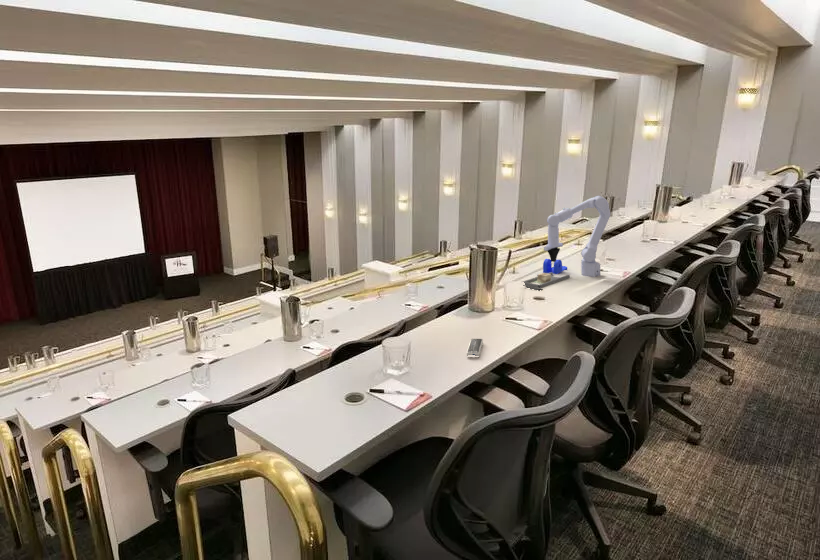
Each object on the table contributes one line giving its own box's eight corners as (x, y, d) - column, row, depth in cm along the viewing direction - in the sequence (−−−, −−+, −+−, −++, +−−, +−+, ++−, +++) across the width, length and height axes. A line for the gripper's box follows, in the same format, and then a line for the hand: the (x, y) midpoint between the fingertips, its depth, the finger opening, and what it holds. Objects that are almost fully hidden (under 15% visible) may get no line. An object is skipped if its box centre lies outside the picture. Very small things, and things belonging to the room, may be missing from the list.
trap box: (569, 280, 283) (569, 274, 283) (539, 290, 267) (539, 285, 266) (551, 277, 292) (551, 272, 291) (521, 287, 276) (521, 282, 275)
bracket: (557, 276, 293) (557, 261, 291) (543, 275, 298) (543, 260, 296) (569, 269, 306) (569, 254, 304) (555, 268, 311) (555, 253, 309)
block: (550, 281, 278) (550, 274, 277) (545, 283, 275) (545, 275, 274) (543, 280, 282) (543, 272, 281) (537, 281, 279) (537, 274, 278)
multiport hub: (483, 344, 202) (482, 338, 202) (479, 358, 189) (478, 352, 188) (471, 344, 203) (471, 338, 203) (466, 358, 190) (466, 352, 189)
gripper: (555, 234, 292) (555, 258, 295) (539, 238, 283) (539, 263, 287) (565, 235, 287) (565, 259, 290) (550, 239, 278) (550, 264, 281)
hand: (553, 261), depth 288 cm, fingers closed
